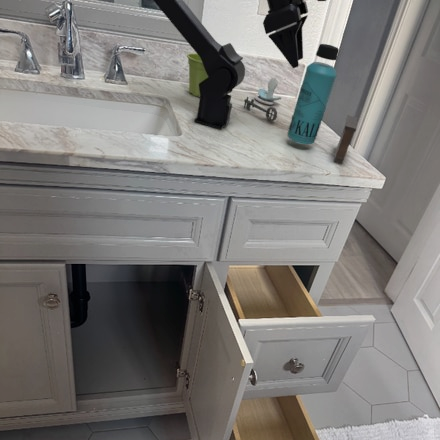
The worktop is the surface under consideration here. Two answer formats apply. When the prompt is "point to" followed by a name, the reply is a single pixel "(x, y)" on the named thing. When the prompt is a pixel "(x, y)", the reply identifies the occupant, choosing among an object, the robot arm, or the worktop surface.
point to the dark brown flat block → (345, 139)
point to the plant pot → (195, 73)
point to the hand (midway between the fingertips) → (298, 63)
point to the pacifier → (268, 93)
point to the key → (251, 103)
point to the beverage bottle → (313, 97)
